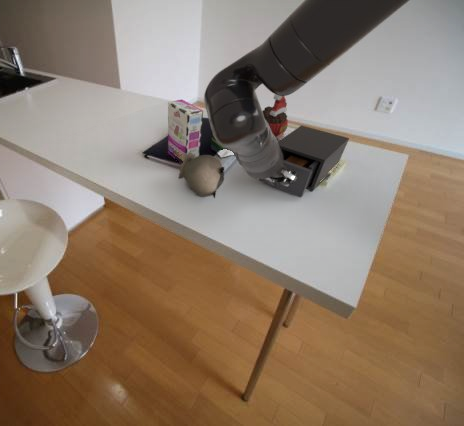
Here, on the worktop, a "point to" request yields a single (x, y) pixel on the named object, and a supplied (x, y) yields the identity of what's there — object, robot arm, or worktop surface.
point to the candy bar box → (184, 128)
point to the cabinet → (315, 149)
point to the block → (297, 161)
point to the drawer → (303, 178)
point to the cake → (277, 116)
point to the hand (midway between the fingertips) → (274, 180)
